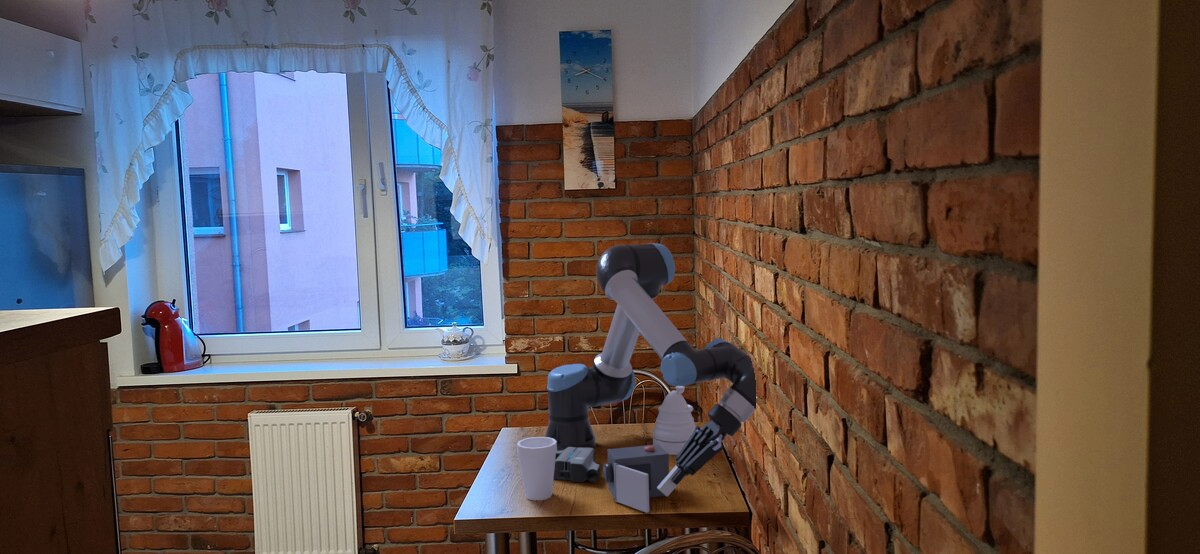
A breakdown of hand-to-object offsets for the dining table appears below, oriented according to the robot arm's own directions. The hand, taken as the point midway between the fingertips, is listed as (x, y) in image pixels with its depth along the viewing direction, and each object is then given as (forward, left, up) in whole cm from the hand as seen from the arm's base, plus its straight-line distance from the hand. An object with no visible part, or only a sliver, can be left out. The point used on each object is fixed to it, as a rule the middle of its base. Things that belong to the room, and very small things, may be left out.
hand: (662, 492), depth 164 cm
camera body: (-12, -2, -4) cm, 13 cm away
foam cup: (-17, -26, -4) cm, 31 cm away
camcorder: (-32, -16, -5) cm, 36 cm away
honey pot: (-43, +17, -4) cm, 46 cm away
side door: (-3, -6, -4) cm, 8 cm away
